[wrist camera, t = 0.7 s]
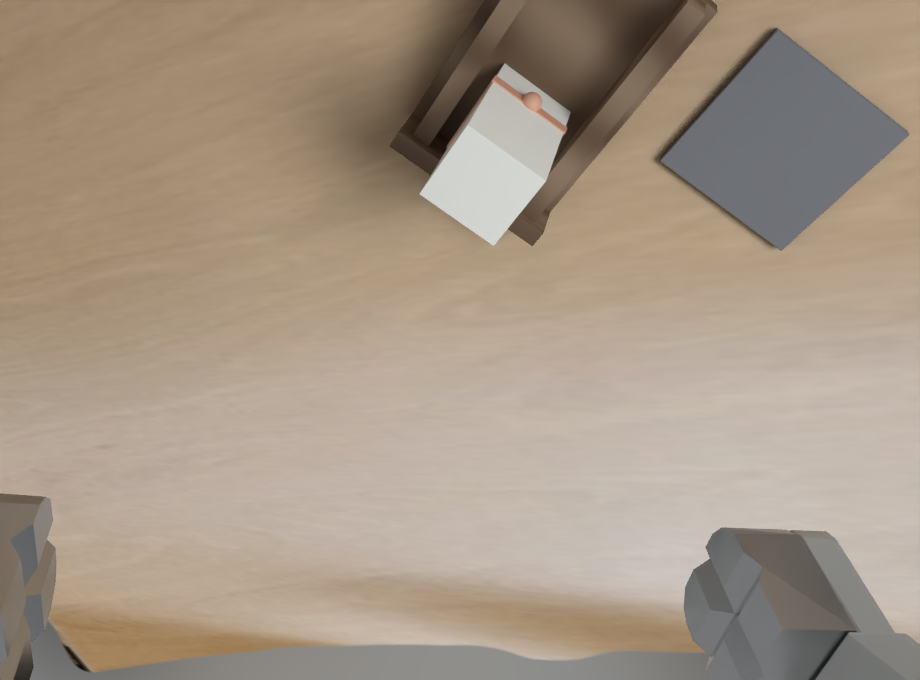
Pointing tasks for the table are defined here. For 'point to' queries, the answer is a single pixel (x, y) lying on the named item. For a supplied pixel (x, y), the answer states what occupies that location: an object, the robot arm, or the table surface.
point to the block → (498, 156)
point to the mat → (782, 141)
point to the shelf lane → (557, 77)
